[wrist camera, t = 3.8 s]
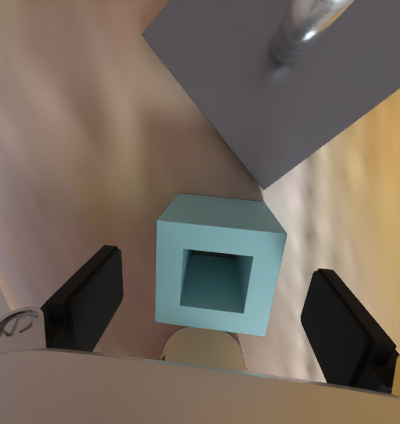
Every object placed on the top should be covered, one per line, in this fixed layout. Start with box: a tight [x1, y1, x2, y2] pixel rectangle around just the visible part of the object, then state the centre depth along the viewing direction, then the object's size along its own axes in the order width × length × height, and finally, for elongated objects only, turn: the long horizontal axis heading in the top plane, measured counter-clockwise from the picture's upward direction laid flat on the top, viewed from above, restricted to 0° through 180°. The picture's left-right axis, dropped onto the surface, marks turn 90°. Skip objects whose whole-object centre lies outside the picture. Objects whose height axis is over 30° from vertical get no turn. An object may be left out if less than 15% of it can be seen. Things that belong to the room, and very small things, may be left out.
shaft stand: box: [142, 0, 400, 190], centre depth 10 cm, size 12×12×7 cm
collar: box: [155, 193, 287, 336], centre depth 15 cm, size 6×6×6 cm
